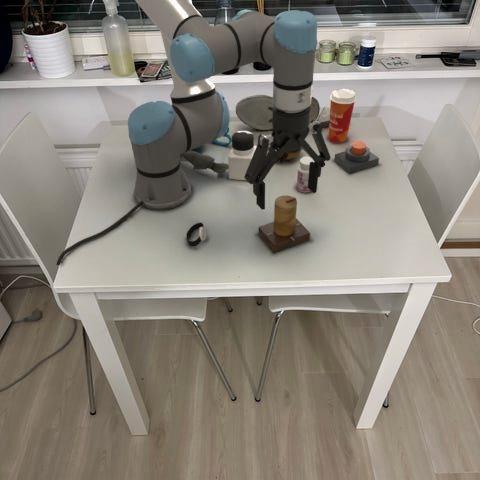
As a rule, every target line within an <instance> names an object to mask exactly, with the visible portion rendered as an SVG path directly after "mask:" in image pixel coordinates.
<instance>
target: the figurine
mask: <svg viewBox="0 0 480 480" xmlns="http://www.w3.org/2000/svg"><path fill="white" fill-rule="evenodd" d="M308 136H309V134H308V135H307V137H308ZM272 143H273V142H271V143H270V145H271V144H272ZM278 150H279V149H278V148H277V147H276V151H278ZM301 150H302V147H301V146H300V148H298V150H296V151H290V152H289V153H284V154H283V155H282V156H281V158H278V160H277V161H278V162H279V163H283V162H285V160H292V159H295V158H297V157H298V156H299V155H300V152H301ZM268 151H269V147H268Z"/></svg>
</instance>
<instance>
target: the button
mask: <svg viewBox="0 0 480 480" xmlns="http://www.w3.org/2000/svg"><path fill="white" fill-rule="evenodd" d="M351 145H352V147H351V152H352V153H353V154H357V155H361V154H364V153H365V149H366V147H367V144H366V142H363V141H354V142H352V143H351Z"/></svg>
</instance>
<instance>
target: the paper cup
mask: <svg viewBox="0 0 480 480" xmlns="http://www.w3.org/2000/svg"><path fill="white" fill-rule="evenodd" d="M329 99H330V107H329V108H330V120H329V126H328V140H329V141H330V142H332V143H334V144H342V143H344V142H346V141H347V138H348V133H349V129H350V125H351V121H352V116H353V111H354V106H355V102H356V101H357V97H356V92H355V90H352V89H350V88H349V89H348V88H338V89H336V90H333V91H332V92H331V94H330V96H329Z"/></svg>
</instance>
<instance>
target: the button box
mask: <svg viewBox="0 0 480 480" xmlns="http://www.w3.org/2000/svg"><path fill="white" fill-rule="evenodd" d="M351 147H352V144H351V145H348V146H347V147H346V148H345V150H343V151H341V152H337V153H335V154H334V159H333V162H334V163H336V164H337V165H339V166H340V167H341V168H342V169H343V170H344V171H345V172H347V173H348V174H350V175H351V174H353V173H356V172H360V171H362V170H366V169H369V168H372V167H376V166H379V162H380V158H379V156H377V155H376V154H374V153H373V152H372V151H371V149H370V147H368V146H366V149H365V153H364V154H361V155H357V154H353V153H352V152H351Z"/></svg>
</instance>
